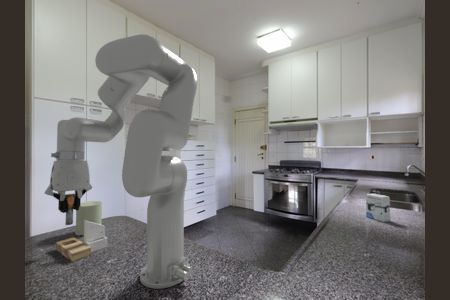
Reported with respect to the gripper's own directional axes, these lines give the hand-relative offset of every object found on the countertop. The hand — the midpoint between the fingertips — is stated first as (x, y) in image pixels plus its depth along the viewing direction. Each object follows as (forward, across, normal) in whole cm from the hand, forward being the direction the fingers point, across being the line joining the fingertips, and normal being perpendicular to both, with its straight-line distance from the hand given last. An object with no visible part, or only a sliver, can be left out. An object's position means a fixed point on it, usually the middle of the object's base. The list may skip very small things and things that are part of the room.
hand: (69, 210), depth 67 cm
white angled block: (+13, +6, -7) cm, 16 cm away
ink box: (+12, +98, -89) cm, 133 cm away
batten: (+13, 0, -3) cm, 14 cm away
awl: (+5, 0, 0) cm, 5 cm away
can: (+13, +11, +13) cm, 22 cm away
